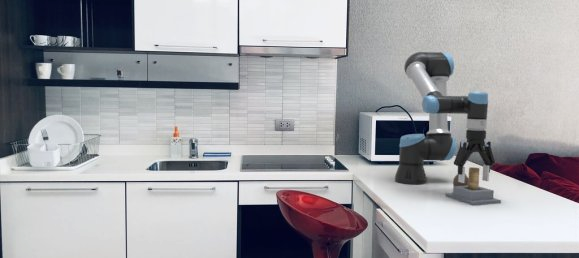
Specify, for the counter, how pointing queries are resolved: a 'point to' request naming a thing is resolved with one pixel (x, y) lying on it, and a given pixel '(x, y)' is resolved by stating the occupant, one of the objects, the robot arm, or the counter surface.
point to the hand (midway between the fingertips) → (473, 181)
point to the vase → (456, 183)
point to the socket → (473, 195)
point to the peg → (473, 178)
